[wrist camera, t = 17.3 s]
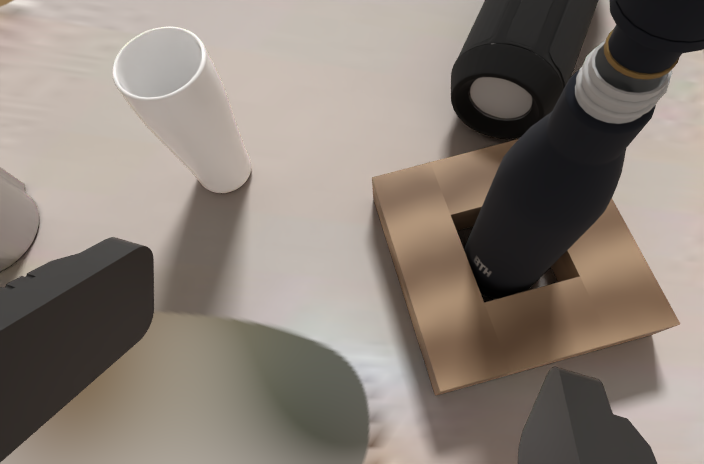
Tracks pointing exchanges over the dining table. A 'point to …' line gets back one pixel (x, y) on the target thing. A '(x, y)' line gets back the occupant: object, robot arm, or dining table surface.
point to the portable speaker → (517, 63)
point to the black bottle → (579, 146)
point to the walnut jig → (516, 310)
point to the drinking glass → (184, 104)
